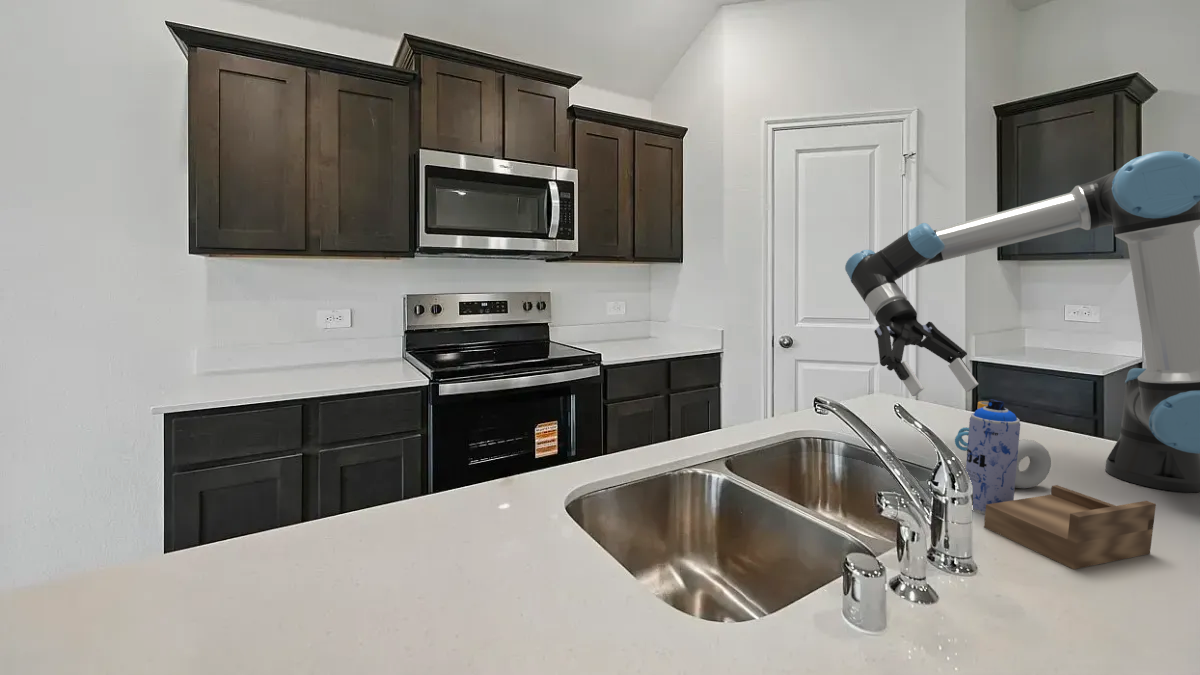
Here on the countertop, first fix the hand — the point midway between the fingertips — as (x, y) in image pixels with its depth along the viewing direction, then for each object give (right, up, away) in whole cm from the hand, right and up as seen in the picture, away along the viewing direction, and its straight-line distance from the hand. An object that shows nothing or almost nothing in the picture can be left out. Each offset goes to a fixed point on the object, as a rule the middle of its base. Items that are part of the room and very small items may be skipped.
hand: (945, 390), depth 110 cm
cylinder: (+15, -19, +10) cm, 26 cm away
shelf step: (+7, -22, -20) cm, 31 cm away
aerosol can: (+3, -21, -7) cm, 22 cm away
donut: (+16, -20, +1) cm, 26 cm away
